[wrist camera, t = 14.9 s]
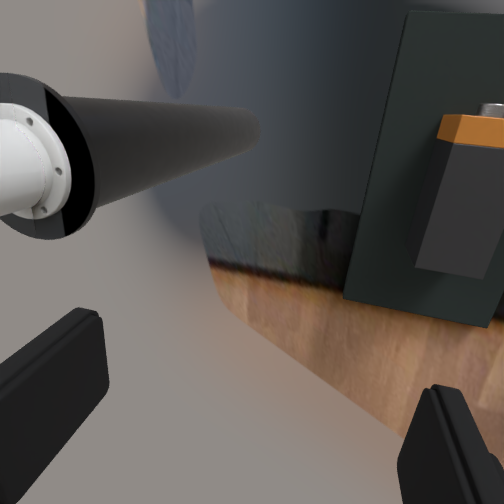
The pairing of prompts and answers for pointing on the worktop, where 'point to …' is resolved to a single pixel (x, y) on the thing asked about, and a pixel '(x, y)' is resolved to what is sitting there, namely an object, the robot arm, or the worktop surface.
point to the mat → (426, 165)
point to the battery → (461, 196)
